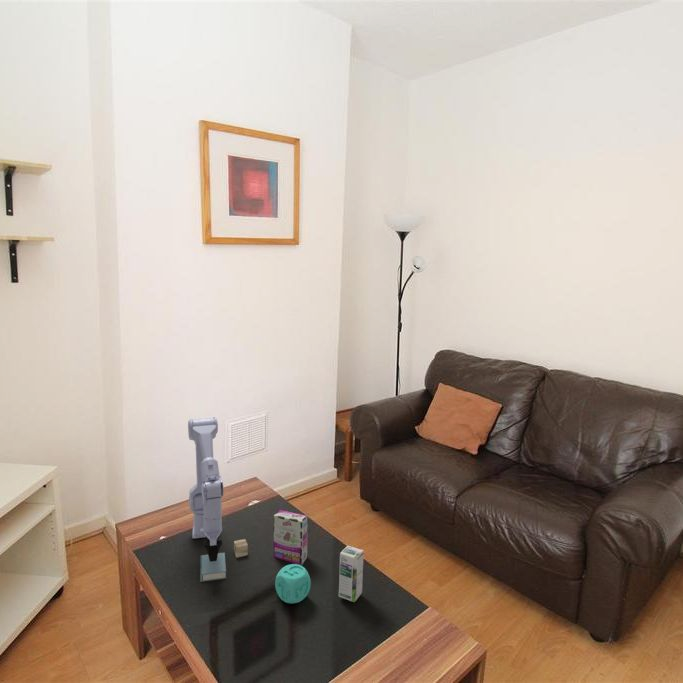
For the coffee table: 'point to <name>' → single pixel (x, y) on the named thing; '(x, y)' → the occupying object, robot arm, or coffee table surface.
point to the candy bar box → (290, 536)
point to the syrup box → (351, 573)
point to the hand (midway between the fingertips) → (213, 554)
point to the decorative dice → (292, 583)
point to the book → (212, 568)
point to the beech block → (240, 548)
